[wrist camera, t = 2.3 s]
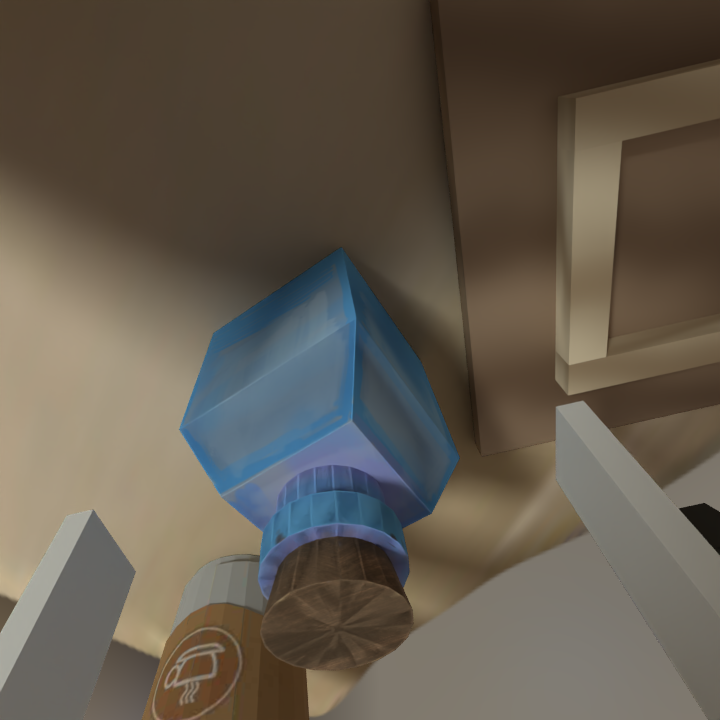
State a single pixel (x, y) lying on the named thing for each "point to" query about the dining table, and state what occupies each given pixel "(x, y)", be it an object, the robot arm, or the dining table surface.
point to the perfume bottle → (323, 460)
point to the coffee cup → (224, 654)
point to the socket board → (583, 207)
